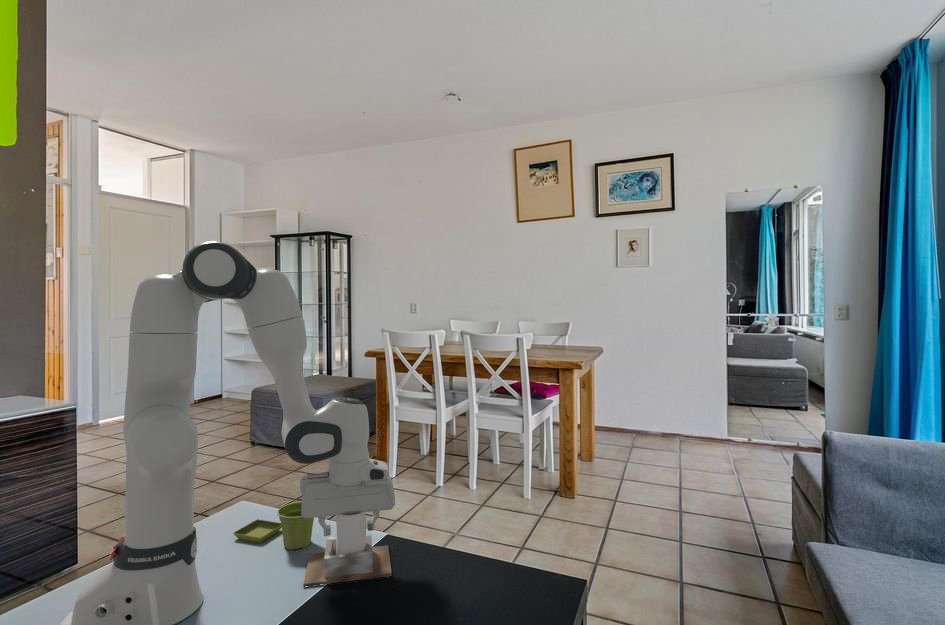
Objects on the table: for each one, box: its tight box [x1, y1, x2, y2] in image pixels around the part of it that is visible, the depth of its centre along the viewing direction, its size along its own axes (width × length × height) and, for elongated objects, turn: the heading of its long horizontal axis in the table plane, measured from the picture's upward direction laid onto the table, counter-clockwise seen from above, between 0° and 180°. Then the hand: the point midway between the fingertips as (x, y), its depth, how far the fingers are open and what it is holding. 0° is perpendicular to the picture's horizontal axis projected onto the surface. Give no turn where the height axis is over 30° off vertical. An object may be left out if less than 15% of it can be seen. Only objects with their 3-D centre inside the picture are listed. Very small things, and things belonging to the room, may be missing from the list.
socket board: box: [302, 532, 393, 588], centre depth 109 cm, size 18×13×6 cm
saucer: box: [232, 519, 282, 543], centre depth 124 cm, size 9×9×2 cm
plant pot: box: [276, 501, 315, 550], centre depth 119 cm, size 9×9×9 cm
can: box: [335, 511, 367, 555], centre depth 109 cm, size 6×6×12 cm
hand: (349, 532), depth 109 cm, fingers open, 8 cm apart
